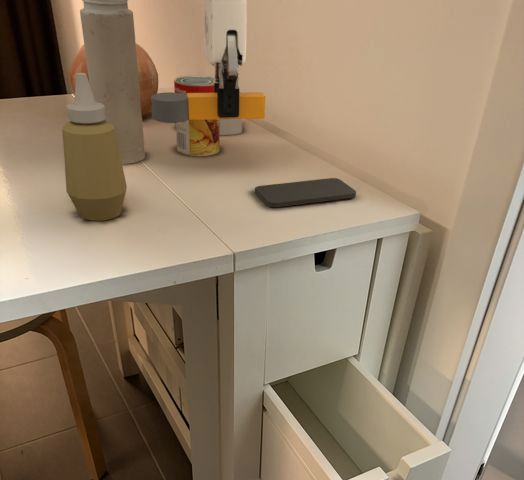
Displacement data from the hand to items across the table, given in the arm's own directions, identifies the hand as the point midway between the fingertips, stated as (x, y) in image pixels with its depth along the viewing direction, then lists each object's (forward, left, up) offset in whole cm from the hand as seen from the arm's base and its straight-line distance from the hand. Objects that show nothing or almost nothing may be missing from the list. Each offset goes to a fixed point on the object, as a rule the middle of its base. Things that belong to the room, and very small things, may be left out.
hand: (226, 112), depth 84 cm
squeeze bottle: (-23, +3, -11) cm, 25 cm away
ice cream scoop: (-2, +2, -1) cm, 3 cm away
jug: (+12, +44, -11) cm, 47 cm away
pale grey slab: (+20, +24, -11) cm, 34 cm away
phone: (+4, -13, -11) cm, 17 cm away
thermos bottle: (-5, +21, -11) cm, 24 cm away
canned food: (+8, +15, -11) cm, 21 cm away
